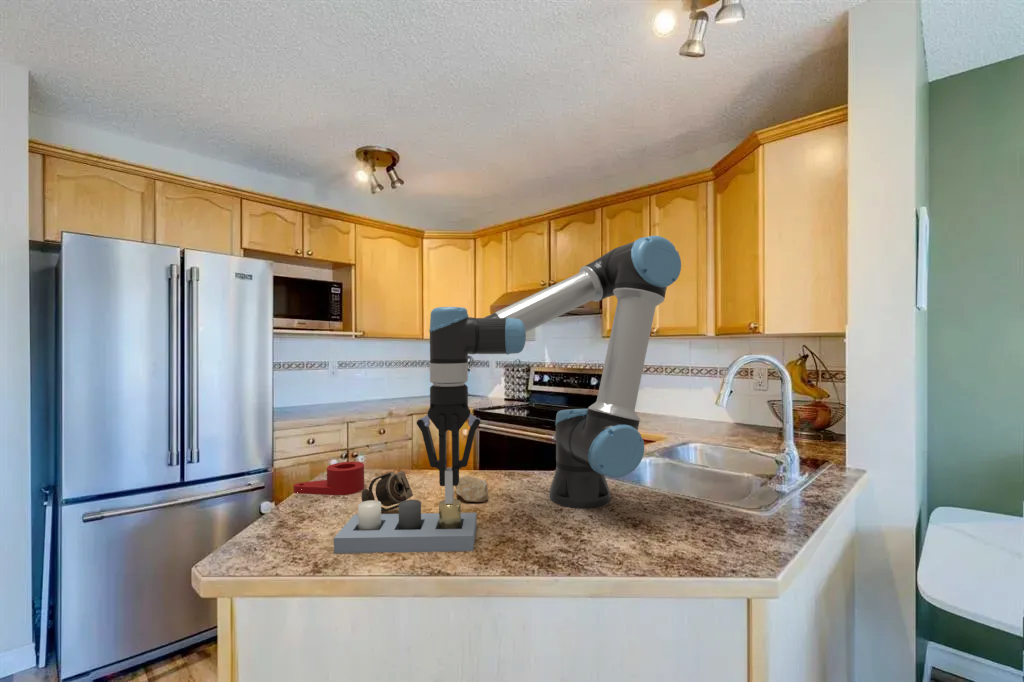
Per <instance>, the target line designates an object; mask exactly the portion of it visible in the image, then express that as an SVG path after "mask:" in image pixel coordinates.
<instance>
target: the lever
mask: <svg viewBox="0 0 1024 682" xmlns="http://www.w3.org/2000/svg"><path fill="white" fill-rule="evenodd" d="M301 489H302V490H301ZM363 489H365V464H364V463H363V462H361V461H360V462H359V461H343V462H336V463H333V464H329V465H328V466H326V479H325V480H315V481H314V480H313V481H304V482H297V483H294V484H293V493H294V494H299V495H300V494H301V495H323V496H325V495H326V496H347V495H354V494H357V493H360V492H362V491H363ZM297 492H298V493H297Z"/></svg>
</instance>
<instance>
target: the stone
mask: <svg viewBox="0 0 1024 682" xmlns="http://www.w3.org/2000/svg"><path fill="white" fill-rule="evenodd" d="M454 488H455V489H454V494H456V495H458V496H460V497H461V498H462V499H463V500H464V501H465V502H471V503H480V502H481V503H484V502H486V501H487V500H488V499H489V495H488V490H489V489H488V484H487V482H486V481H485V480H483V479H480V478H477V477H473V476H468V475H464V476H460V477H459V483H458V486H454Z"/></svg>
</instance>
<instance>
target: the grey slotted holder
mask: <svg viewBox="0 0 1024 682" xmlns="http://www.w3.org/2000/svg"><path fill="white" fill-rule="evenodd" d="M477 519H478V518H477V512H461V528H460V529H439V512H438V513H436V512H430V513H429V512H428V513H427V512H426V513H425V512H423V513H422V512H421V529H420V530H399V513H381V529H380V530H360V531H358V513H357V514H353V515H352V516H351V517H350V519H349V520H348V521H346V524H344V526H343V527H342V528H341V529H340V530H339V532H337V534H336V535H335V536H334V537H333V554H375V553H376V552H380V554H381V553H382V552H383V553H384V552H385V553H386V552H388V553H437V552H439V553H440V552H442V553H443V552H445V553H446V552H447V553H449V552H474V548H475V541H476V533H477V523H478V521H477ZM374 552H375V553H374Z"/></svg>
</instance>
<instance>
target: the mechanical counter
mask: <svg viewBox="0 0 1024 682" xmlns="http://www.w3.org/2000/svg"><path fill="white" fill-rule="evenodd" d="M377 480H378V482H377V483H376V485H375V495H374V493H373V487H374V484H375V482H376V481H377ZM375 496H376V497H375ZM412 496H414V493H413V491H412V489H411V486H410V483H409V481H408V478H407V476H406V473H405V471H404V470H401V471H398V472H396V473H395V471H389V472H387V473H384V474H382V475H379V476H377V477H374V478H373V479H372V480H371V482H370V483H369V486H368V488H365V487H364V489H363V490H362V491H361V502H364V501H369V500H376V499H377V501H380V502H381V512H389V511H392V510H395V509H399V503H400V502H402V501H405V500H409V499H410V498H411V497H412ZM383 506H384V507H383ZM385 507H387V508H385ZM388 507H389V508H388Z"/></svg>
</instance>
